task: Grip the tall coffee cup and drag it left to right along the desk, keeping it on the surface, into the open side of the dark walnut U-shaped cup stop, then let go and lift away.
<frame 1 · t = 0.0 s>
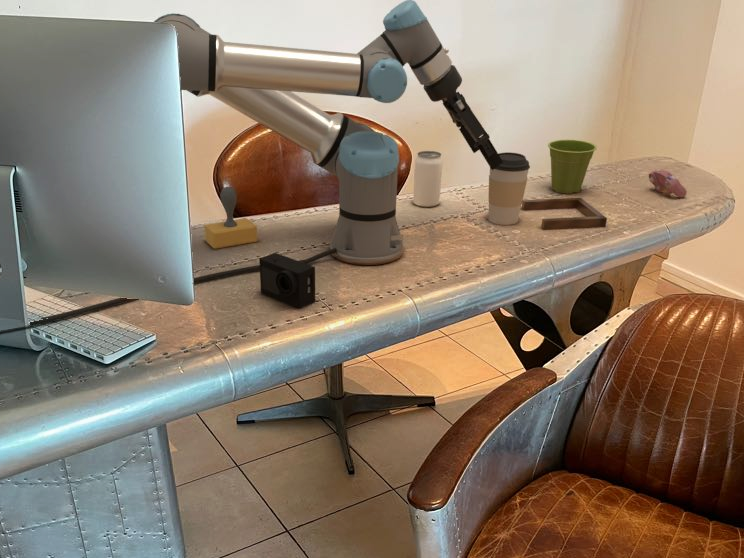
hand: (487, 157, 177), 15 cm above the table, tool tilted 35°, fingers open, 13 cm apart
plant pot: (565, 190, 207), on the table
video game controller: (664, 194, 205), on the table
can: (426, 204, 198), on the table
cup stop: (560, 217, 190), on the table
rubber stamp: (231, 242, 176), on the table
digital camera: (285, 299, 151), on the table
coffee cup: (503, 220, 188), on the table
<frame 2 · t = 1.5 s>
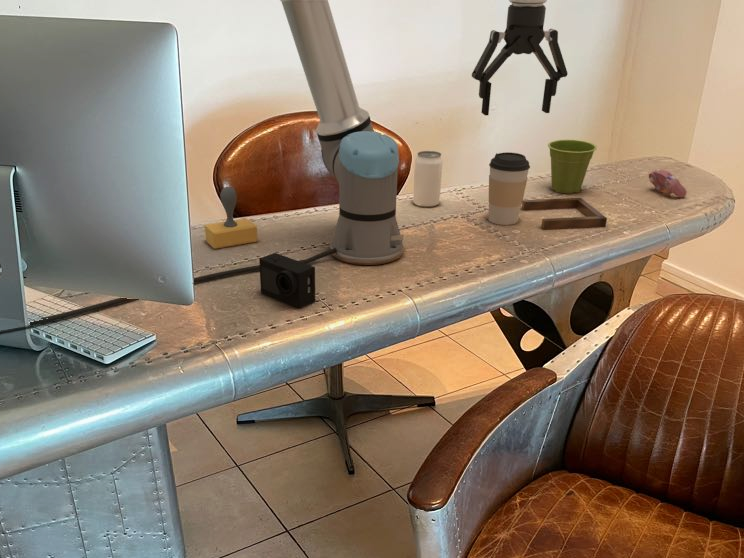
hand: (515, 113, 175), 24 cm above the table, tool pointing down, fingers open, 13 cm apart
nothing on the table moved.
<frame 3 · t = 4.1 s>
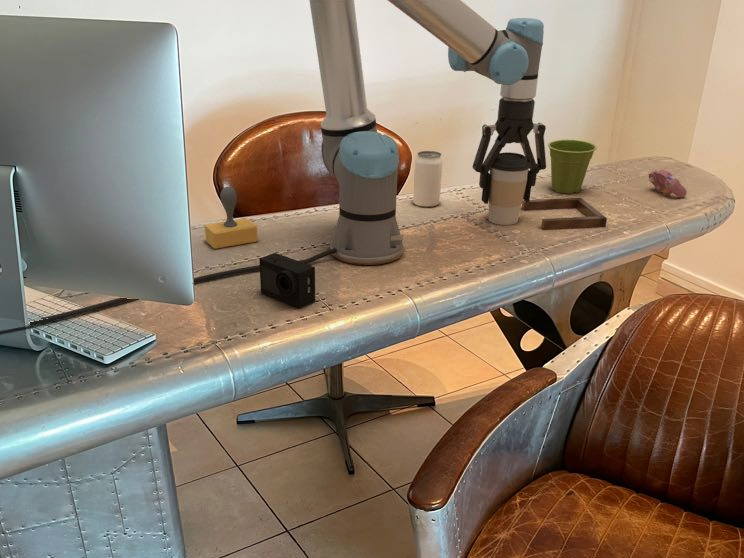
hand: (505, 200, 186), 4 cm above the table, tool pointing down, fingers closed on coffee cup, 9 cm apart
coffee cup: (502, 220, 188), on the table, touching gripper
everything else where it was.
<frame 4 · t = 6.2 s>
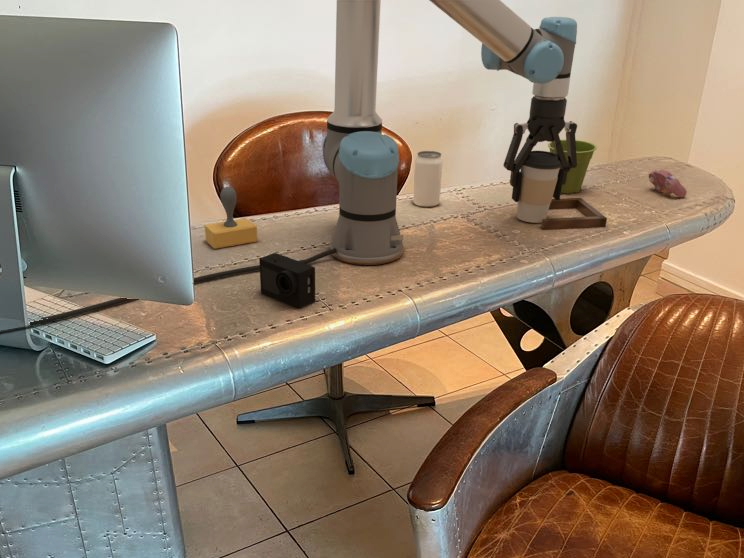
hand: (535, 199, 186), 5 cm above the table, tool pointing down, fingers closed on coffee cup, 9 cm apart
coffee cup: (531, 218, 189), on the table, touching gripper
everything else where it was.
when the fingers open (5 cm above the table, at t = 8.7 s): coffee cup stays where it is, on the table.
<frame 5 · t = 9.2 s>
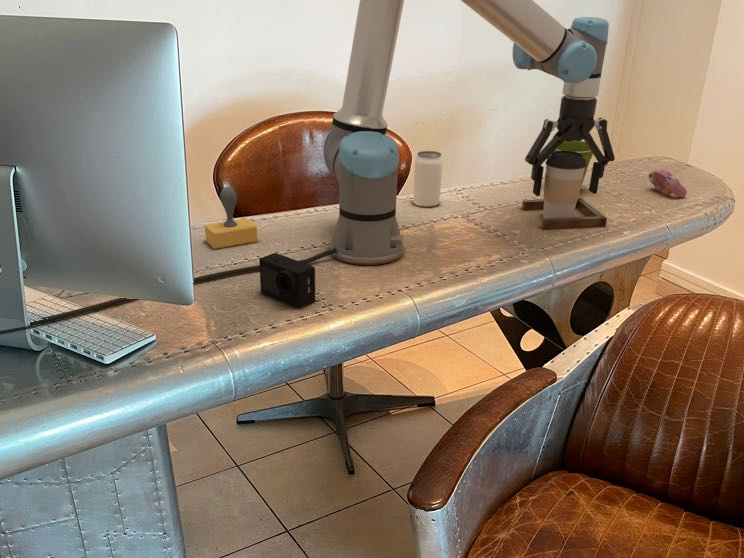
hand: (564, 193, 187), 6 cm above the table, tool pointing down, fingers open, 13 cm apart
coffee cup: (557, 218, 190), on the table
everything else where it was.
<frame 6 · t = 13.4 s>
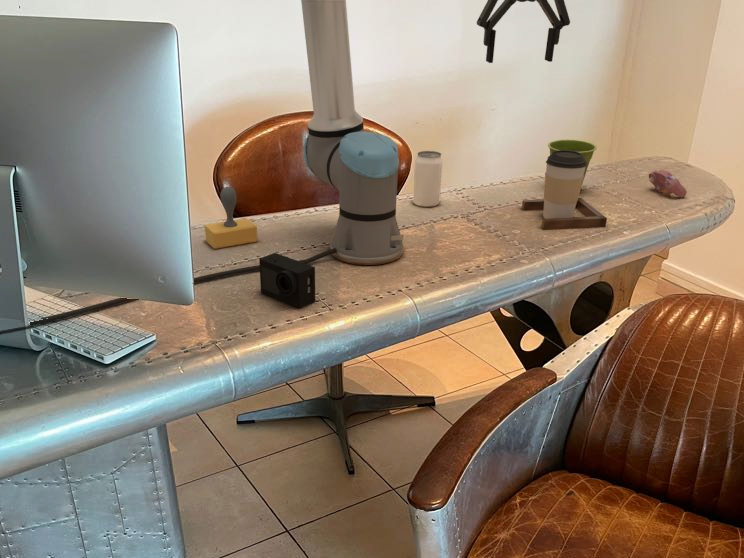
hand: (518, 61, 179), 33 cm above the table, tool pointing down, fingers open, 13 cm apart
nothing on the table moved.
at the end: coffee cup 0.7 cm off-centre on the cup stop, point 0.0 cm above the cup stop's base; coffee cup tilted 1°; the gripper is holding nothing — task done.
